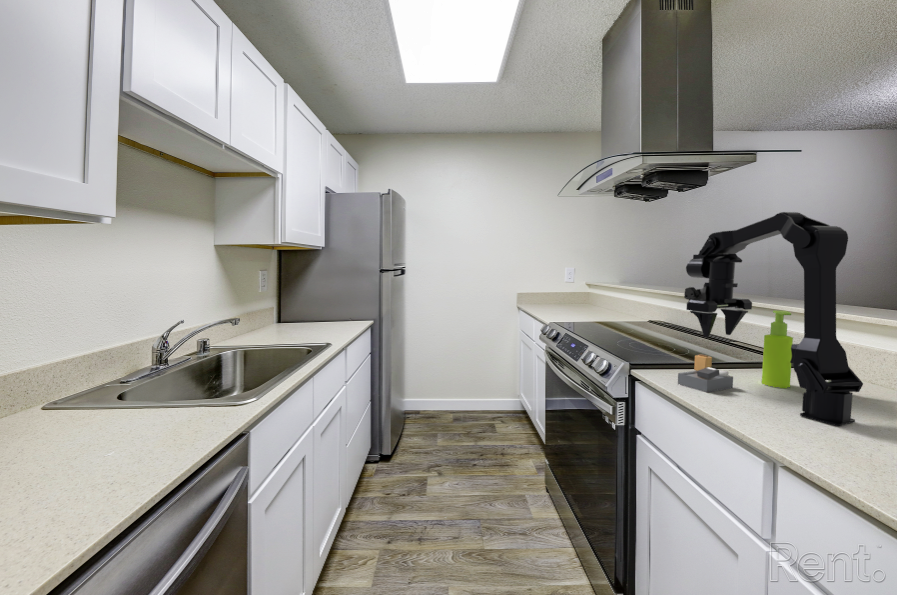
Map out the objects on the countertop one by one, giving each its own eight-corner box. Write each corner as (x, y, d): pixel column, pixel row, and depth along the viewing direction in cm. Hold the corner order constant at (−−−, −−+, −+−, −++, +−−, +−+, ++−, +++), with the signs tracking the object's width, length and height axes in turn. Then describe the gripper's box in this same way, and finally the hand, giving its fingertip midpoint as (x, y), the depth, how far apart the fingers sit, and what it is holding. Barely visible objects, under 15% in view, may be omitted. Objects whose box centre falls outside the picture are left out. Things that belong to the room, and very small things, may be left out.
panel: (732, 387, 105) (733, 371, 105) (706, 392, 102) (707, 375, 101) (703, 380, 113) (703, 365, 113) (677, 383, 109) (678, 368, 109)
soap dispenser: (769, 388, 105) (773, 311, 104) (757, 381, 112) (761, 309, 110) (796, 390, 103) (801, 312, 102) (783, 383, 110) (787, 309, 109)
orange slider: (711, 371, 109) (711, 355, 109) (704, 372, 108) (705, 356, 108) (700, 369, 112) (701, 353, 112) (694, 370, 111) (694, 354, 111)
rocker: (719, 374, 103) (719, 369, 103) (708, 379, 102) (708, 373, 101) (707, 372, 106) (707, 366, 106) (697, 376, 104) (696, 370, 104)
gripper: (715, 277, 121) (711, 329, 123) (670, 278, 114) (667, 333, 116) (755, 279, 111) (750, 335, 112) (708, 280, 104) (705, 340, 105)
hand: (717, 335), depth 112 cm, fingers open, 9 cm apart
